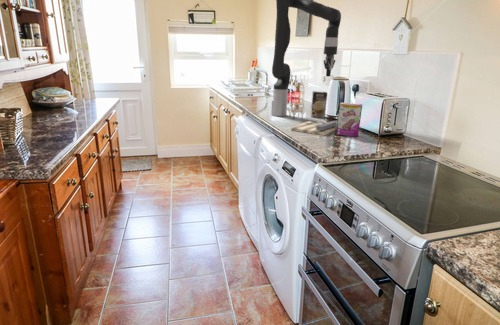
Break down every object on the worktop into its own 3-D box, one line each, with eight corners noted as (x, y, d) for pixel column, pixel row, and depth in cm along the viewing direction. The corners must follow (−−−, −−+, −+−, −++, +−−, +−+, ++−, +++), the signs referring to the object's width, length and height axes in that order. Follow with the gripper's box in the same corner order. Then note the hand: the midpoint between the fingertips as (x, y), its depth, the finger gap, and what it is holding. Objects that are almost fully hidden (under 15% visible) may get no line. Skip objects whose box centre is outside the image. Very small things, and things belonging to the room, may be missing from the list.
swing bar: (321, 130, 177) (322, 126, 177) (315, 129, 179) (316, 125, 179) (338, 125, 191) (338, 121, 190) (332, 124, 193) (332, 120, 192)
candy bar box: (335, 135, 178) (339, 103, 173) (336, 133, 182) (339, 102, 177) (358, 137, 175) (362, 105, 169) (358, 135, 179) (362, 103, 174)
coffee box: (310, 117, 223) (312, 92, 218) (310, 115, 229) (312, 91, 224) (325, 117, 222) (327, 92, 217) (324, 116, 228) (326, 91, 223)
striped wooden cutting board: (291, 130, 187) (291, 126, 186) (310, 122, 206) (310, 119, 206) (324, 135, 177) (325, 132, 176) (341, 127, 196) (341, 124, 196)
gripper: (329, 46, 208) (326, 75, 214) (320, 45, 198) (317, 76, 203) (341, 46, 204) (338, 76, 210) (332, 45, 194) (329, 77, 199)
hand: (328, 76), depth 207 cm, fingers closed
